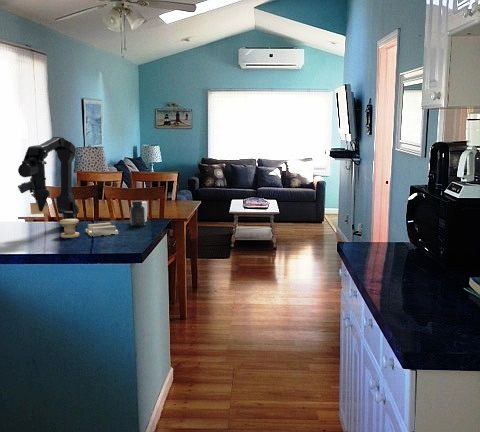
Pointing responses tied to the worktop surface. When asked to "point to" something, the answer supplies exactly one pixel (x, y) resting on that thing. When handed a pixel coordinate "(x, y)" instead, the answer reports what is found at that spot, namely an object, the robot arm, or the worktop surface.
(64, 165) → the robot arm
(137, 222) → the supplement bottle
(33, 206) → the tan rectangular block
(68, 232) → the bobbin
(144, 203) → the white cup
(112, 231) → the notched board
